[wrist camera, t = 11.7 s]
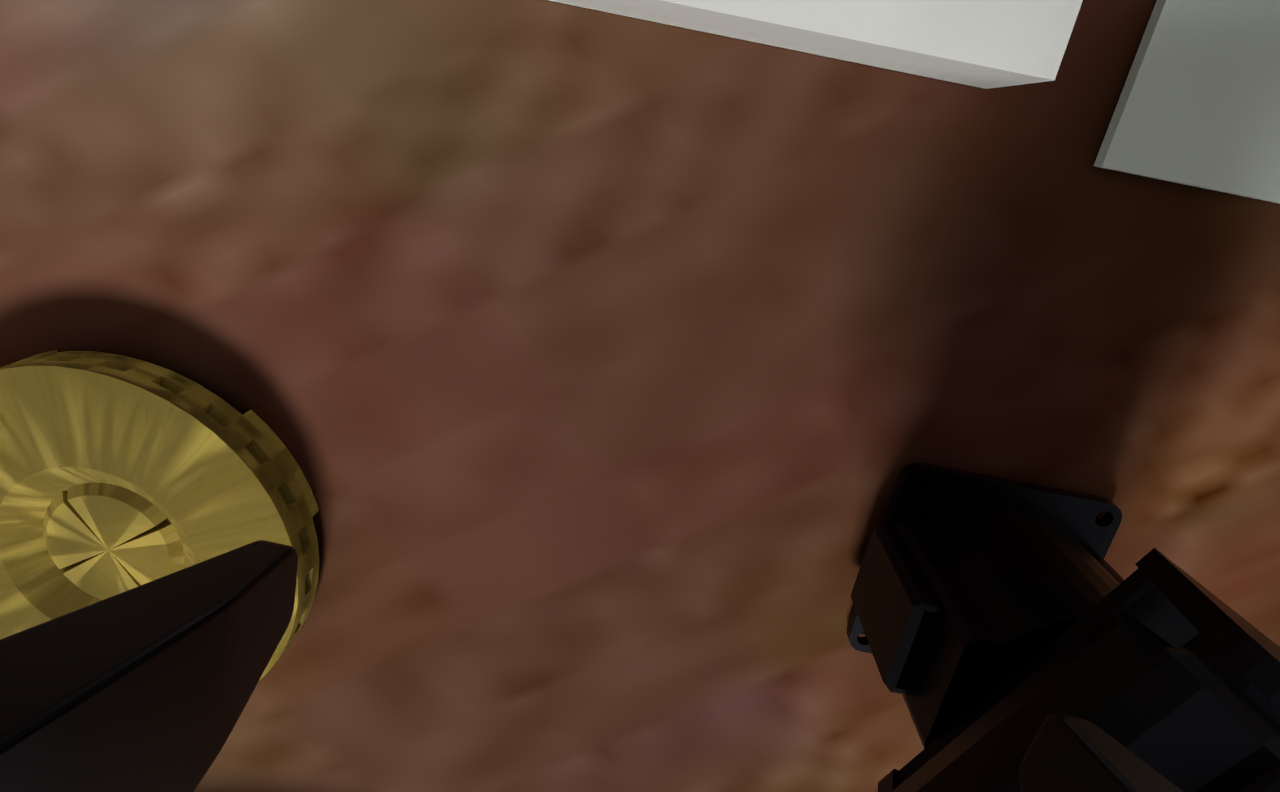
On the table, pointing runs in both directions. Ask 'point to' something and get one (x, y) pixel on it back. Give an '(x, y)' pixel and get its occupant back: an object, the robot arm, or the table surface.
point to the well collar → (888, 32)
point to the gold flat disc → (133, 485)
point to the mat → (1203, 99)
